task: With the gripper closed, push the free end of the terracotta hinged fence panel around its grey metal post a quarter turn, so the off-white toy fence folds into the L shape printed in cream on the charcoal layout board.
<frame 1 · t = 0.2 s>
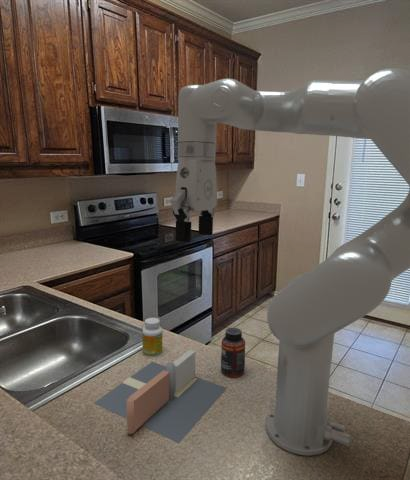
hand: (195, 237, 73), 36 cm above the countertop, tool pointing down, fingers open, 9 cm apart
fence panel: (148, 400, 71), point 4 cm above the countertop, hinge at 0.0°
supplement bottle 2: (232, 373, 89), on the countertop
layout board: (170, 399, 78), on the countertop
supplement bottle: (152, 354, 98), on the countertop
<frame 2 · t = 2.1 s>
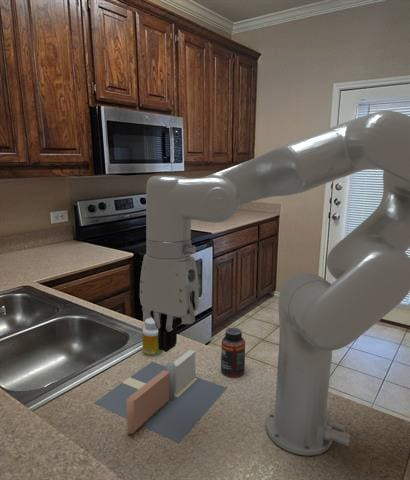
hand: (167, 347, 64), 18 cm above the countertop, tool pointing down, fingers closed
nothing on the countertop moved.
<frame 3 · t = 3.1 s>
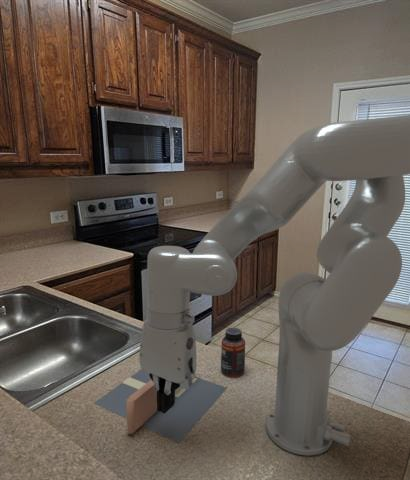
hand: (165, 407, 66), 6 cm above the countertop, tool pointing down, fingers closed
nothing on the countertop moved.
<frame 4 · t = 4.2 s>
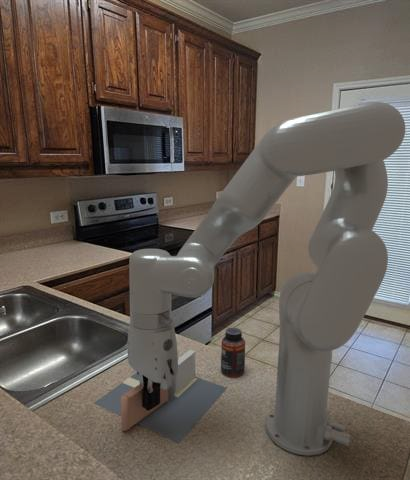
hand: (151, 405, 68), 5 cm above the countertop, tool pointing down, fingers closed
fence panel: (145, 398, 71), point 4 cm above the countertop, hinge at -6.7°, touching gripper
everything else where it was.
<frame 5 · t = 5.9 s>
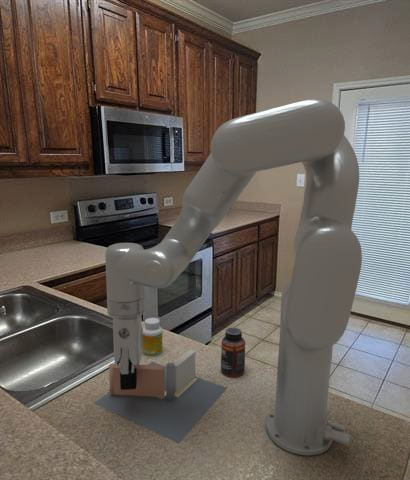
hand: (128, 387, 74), 5 cm above the countertop, tool pointing down, fingers closed
fence panel: (136, 380, 77), point 4 cm above the countertop, hinge at -63.1°, touching gripper
everything else where it was.
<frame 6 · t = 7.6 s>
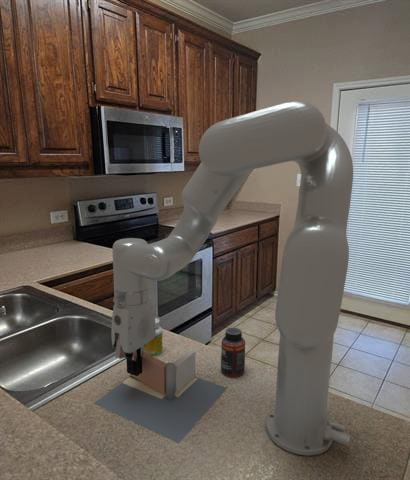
hand: (134, 372, 80), 5 cm above the countertop, tool pointing down, fingers closed
fence panel: (147, 369, 82), point 4 cm above the countertop, hinge at -99.4°, touching gripper
everything else where it was.
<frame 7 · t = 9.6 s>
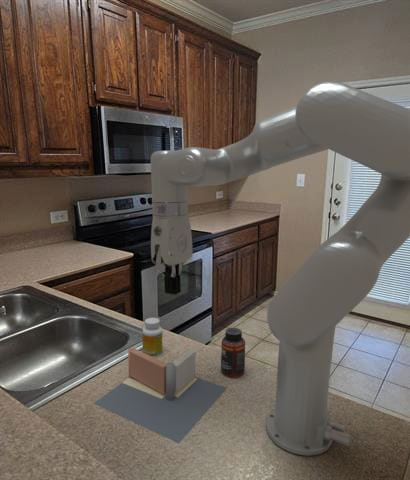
hand: (172, 292, 78), 23 cm above the countertop, tool pointing down, fingers closed
fence panel: (146, 370, 81), point 4 cm above the countertop, hinge at -97.8°
everything else where it was.
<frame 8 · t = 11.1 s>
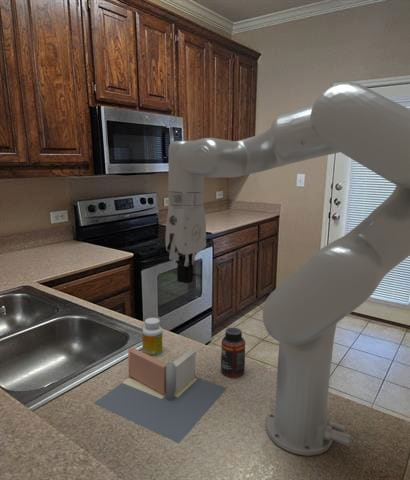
hand: (185, 281, 80), 25 cm above the countertop, tool pointing down, fingers closed
nothing on the countertop moved.
at the end: fence panel at -98° (first picture: +0°) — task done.
